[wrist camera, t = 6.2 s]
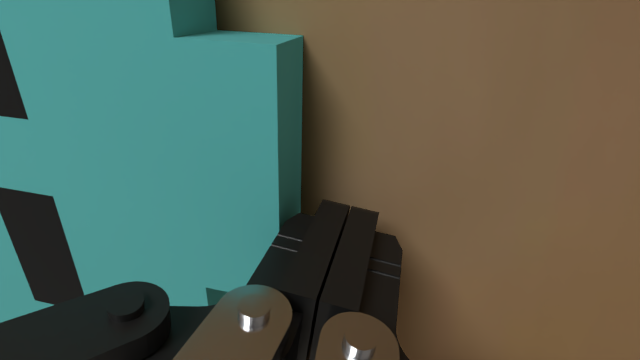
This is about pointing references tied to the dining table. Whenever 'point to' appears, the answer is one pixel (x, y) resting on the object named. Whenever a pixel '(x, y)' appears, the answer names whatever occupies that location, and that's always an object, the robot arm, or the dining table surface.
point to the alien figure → (141, 149)
